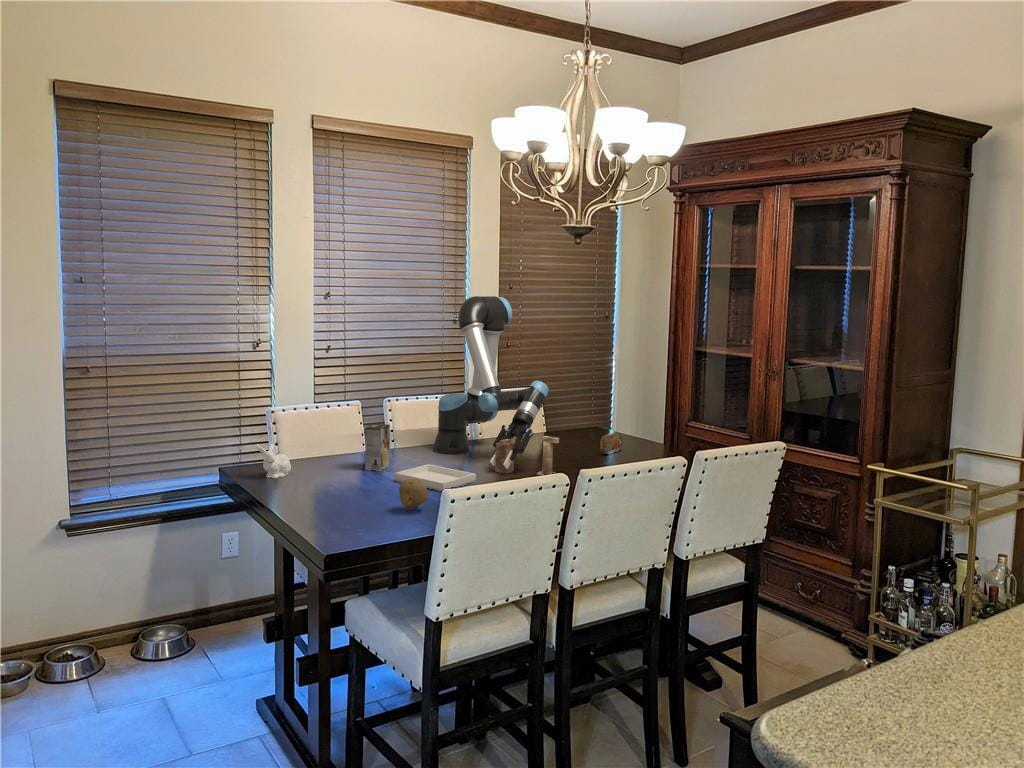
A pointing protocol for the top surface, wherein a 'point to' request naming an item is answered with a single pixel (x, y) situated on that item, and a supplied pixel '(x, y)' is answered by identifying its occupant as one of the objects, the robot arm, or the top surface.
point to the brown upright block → (503, 456)
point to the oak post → (547, 454)
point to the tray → (436, 476)
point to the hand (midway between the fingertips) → (498, 465)
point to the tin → (610, 442)
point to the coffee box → (377, 447)
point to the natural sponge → (413, 493)
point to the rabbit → (275, 463)
